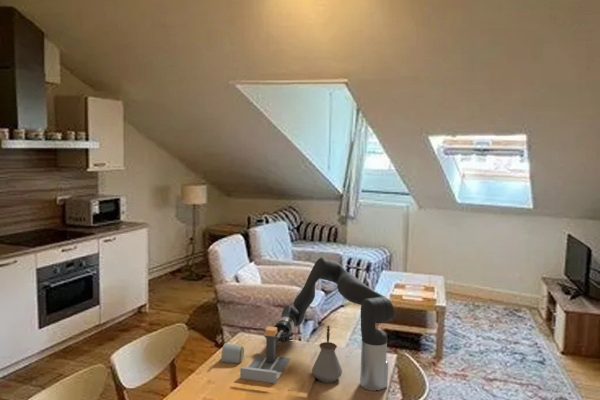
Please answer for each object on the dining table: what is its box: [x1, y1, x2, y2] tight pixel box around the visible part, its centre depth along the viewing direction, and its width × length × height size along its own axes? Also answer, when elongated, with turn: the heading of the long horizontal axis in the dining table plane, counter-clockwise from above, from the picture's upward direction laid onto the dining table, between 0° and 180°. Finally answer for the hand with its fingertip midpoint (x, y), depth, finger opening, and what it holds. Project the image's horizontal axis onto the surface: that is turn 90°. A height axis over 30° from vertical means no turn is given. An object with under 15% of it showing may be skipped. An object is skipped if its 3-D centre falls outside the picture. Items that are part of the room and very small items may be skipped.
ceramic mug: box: [220, 342, 245, 364], centre depth 202 cm, size 11×8×8 cm
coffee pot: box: [311, 324, 343, 383], centre depth 193 cm, size 21×12×15 cm, turn 176°
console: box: [239, 353, 291, 385], centre depth 194 cm, size 22×14×5 cm, turn 167°
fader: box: [264, 326, 277, 363], centre depth 199 cm, size 4×4×13 cm
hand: (272, 343), depth 201 cm, fingers closed
